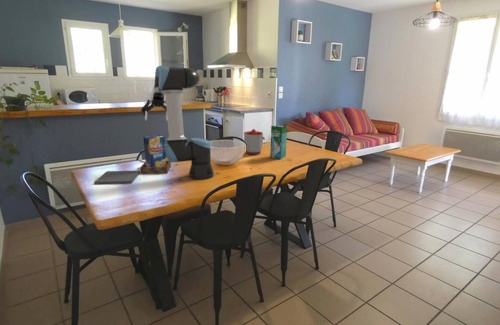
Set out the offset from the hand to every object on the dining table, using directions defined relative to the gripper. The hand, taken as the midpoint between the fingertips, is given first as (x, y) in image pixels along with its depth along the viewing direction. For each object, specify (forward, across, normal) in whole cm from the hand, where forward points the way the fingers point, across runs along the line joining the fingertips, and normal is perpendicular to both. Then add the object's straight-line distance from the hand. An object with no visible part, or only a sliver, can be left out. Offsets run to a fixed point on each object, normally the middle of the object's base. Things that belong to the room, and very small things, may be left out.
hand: (156, 120), depth 196 cm
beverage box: (+30, 0, -15) cm, 33 cm away
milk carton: (+10, -87, -34) cm, 94 cm away
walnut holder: (+30, 0, -14) cm, 33 cm away
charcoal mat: (+41, +19, -3) cm, 45 cm away
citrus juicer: (0, -70, -44) cm, 83 cm away
